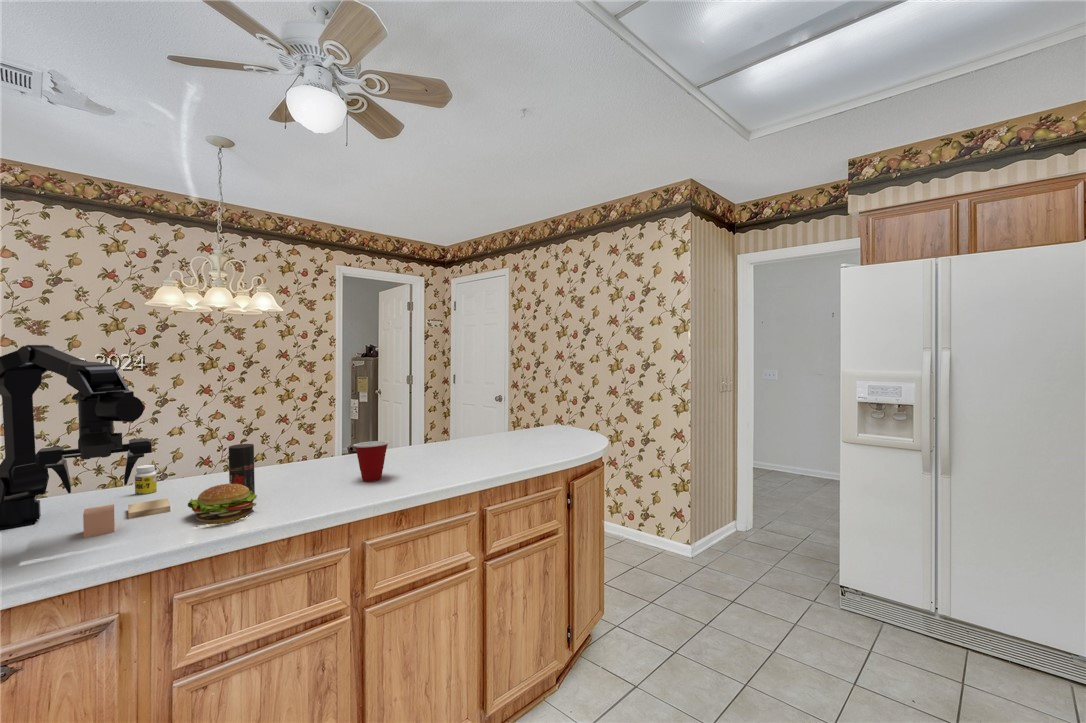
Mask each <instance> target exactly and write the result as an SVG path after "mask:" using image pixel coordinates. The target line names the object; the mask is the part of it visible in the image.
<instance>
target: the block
mask: <svg viewBox="0 0 1086 723" xmlns="http://www.w3.org/2000/svg"><path fill="white" fill-rule="evenodd" d="M82 516H83V517H82V524H83V538H84V539H86V538H90V537H96V536H100V535H106V534H112V533H115V529H116V527H115V526H116V524H115V523H116V522H115V520H116V519H115V503H113V504H107V505H101V506H99V505H98V506H95V507H94V506H93V507H87V508H84V509H83V514H82Z"/></svg>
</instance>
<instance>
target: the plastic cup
mask: <svg viewBox="0 0 1086 723" xmlns="http://www.w3.org/2000/svg"><path fill="white" fill-rule="evenodd" d="M388 444H390V443H389V441H385V440H374V441H373V440H371V441H363V442H358V443H355V444H353V447H354V449H355V452H356V455H357V461H358V465H359V466H358V467H359V470H360V475H361V479H362V482H367V483H368V482H370V483H371V482H377V481H380V480H381V479H382V477H383V469H384V466H385V460H386V459H385V458H386V453H387V448H388Z"/></svg>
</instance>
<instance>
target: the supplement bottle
mask: <svg viewBox="0 0 1086 723" xmlns="http://www.w3.org/2000/svg"><path fill="white" fill-rule="evenodd" d="M155 470H156V468H155V464H145V465H144V464H143V465H138V466H136V473H135V475H134V494H135V495H136V496H145V495H150V494H154V493H156V492H157V488H158V486H157V478H158V477H157V472H156V471H155Z"/></svg>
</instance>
